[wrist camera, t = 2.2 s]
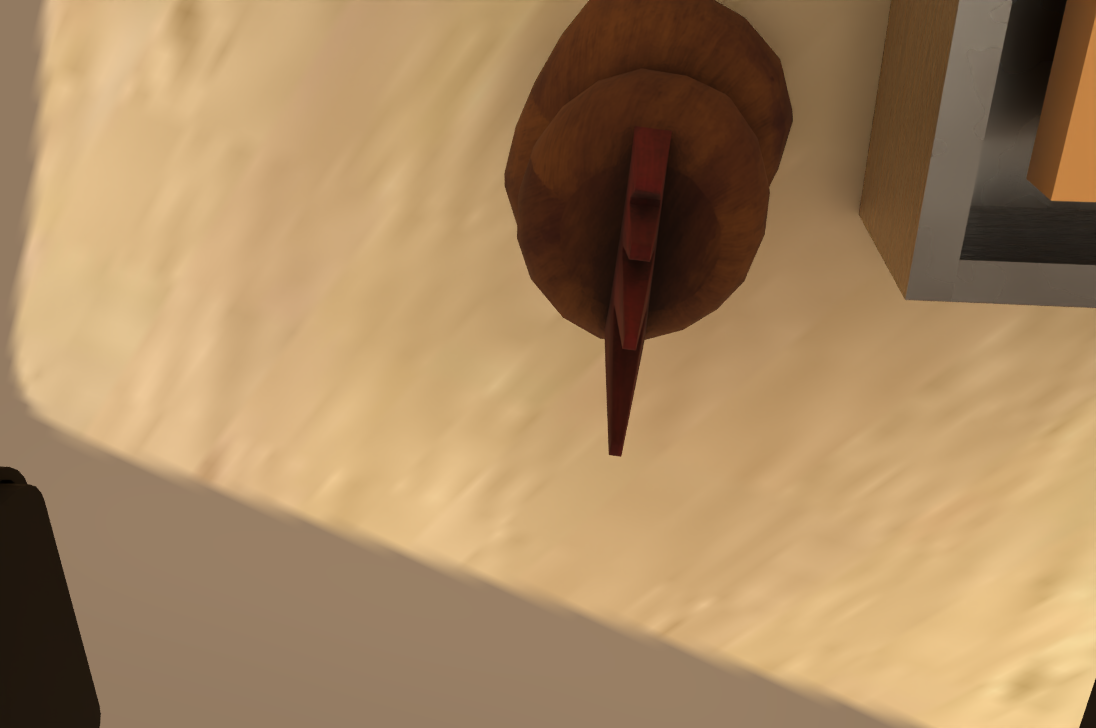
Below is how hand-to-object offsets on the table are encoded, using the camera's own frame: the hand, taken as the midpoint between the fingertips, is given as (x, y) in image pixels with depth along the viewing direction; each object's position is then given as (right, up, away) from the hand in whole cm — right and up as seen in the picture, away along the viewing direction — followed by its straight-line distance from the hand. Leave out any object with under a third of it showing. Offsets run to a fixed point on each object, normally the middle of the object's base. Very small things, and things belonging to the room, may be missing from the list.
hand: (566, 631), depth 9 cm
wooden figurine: (+3, +10, +18) cm, 21 cm away
